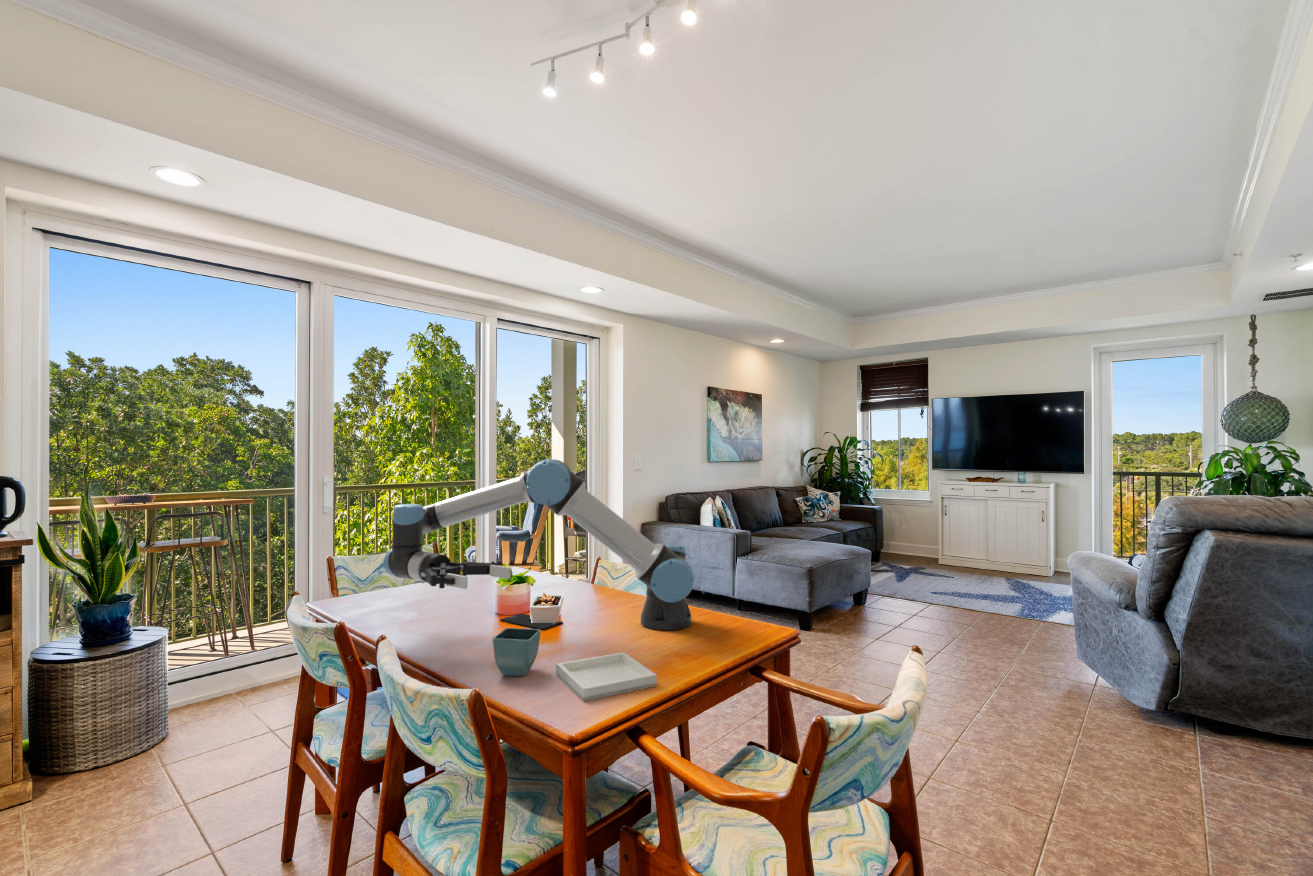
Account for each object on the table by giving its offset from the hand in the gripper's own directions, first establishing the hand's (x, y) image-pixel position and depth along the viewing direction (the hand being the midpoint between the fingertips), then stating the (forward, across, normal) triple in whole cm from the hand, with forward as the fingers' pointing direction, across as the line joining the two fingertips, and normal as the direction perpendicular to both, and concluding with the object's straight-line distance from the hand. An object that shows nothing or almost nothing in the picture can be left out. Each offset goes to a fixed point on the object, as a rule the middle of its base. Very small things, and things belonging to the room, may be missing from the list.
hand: (488, 577), depth 146 cm
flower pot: (+10, 0, -21) cm, 23 cm away
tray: (+30, -7, -20) cm, 37 cm away
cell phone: (-16, -32, -21) cm, 42 cm away
